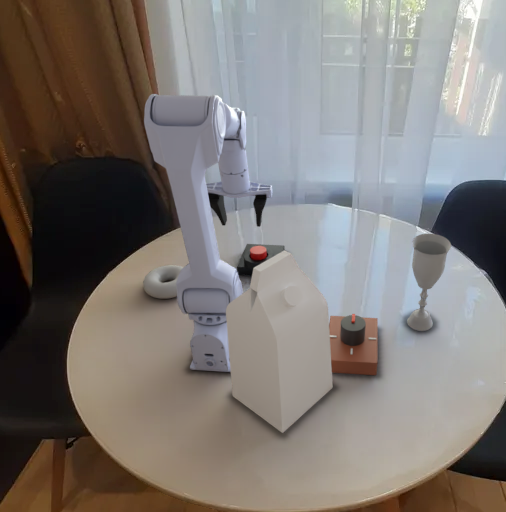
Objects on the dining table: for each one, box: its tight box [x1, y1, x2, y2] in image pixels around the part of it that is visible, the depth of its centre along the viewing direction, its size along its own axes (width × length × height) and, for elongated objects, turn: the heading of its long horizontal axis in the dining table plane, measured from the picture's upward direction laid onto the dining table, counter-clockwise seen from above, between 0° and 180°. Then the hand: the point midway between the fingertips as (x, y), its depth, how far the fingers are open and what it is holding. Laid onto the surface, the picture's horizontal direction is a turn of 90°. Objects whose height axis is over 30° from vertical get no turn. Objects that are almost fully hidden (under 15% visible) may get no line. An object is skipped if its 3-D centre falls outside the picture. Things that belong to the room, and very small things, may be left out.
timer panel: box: [329, 315, 379, 376], centre depth 88 cm, size 12×9×3 cm
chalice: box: [406, 233, 452, 332], centre depth 90 cm, size 7×7×18 cm
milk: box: [226, 249, 333, 434], centre depth 73 cm, size 12×12×26 cm
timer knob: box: [340, 313, 366, 346], centre depth 86 cm, size 4×4×4 cm
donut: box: [142, 264, 184, 300], centre depth 103 cm, size 10×4×10 cm
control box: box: [236, 243, 286, 277], centre depth 110 cm, size 11×9×4 cm
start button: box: [250, 246, 267, 260], centre depth 107 cm, size 4×4×2 cm
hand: (241, 223), depth 107 cm, fingers open, 7 cm apart
